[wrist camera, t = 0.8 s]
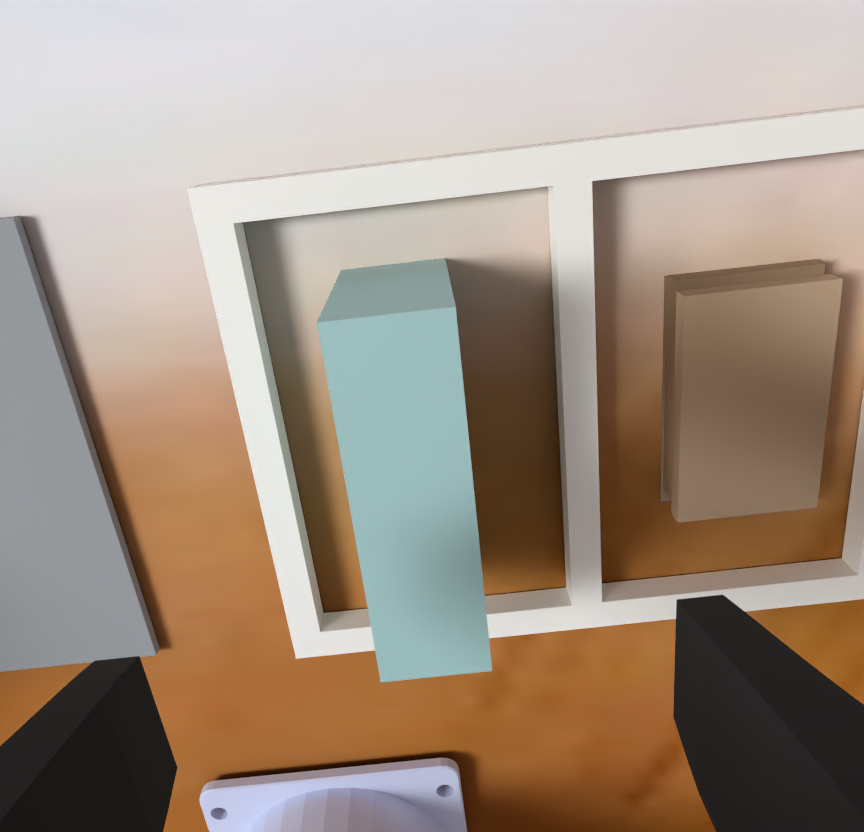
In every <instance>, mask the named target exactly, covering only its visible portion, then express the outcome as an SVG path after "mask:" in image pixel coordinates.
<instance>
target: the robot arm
mask: <svg viewBox="0 0 864 832" xmlns="http://www.w3.org/2000/svg"><path fill="white" fill-rule="evenodd" d="M674 720H675V723H676V726H677V729H678V732H679V735H680V738H681V741H682V744H683V748H684V751H685V754H686V757H687V760H688V763H689V766H690V768H691V771H692V774H693V777H694V780H695V783H696V786H697V789H698V792H699V794H700V797H701V799H702V801H703V803H704V805H705V808H706V810H707V812H708V814H709V817H710V819H711V821H712V823H713V825H714V827H715V830H716V832H864V705H863V704H862V703H860V702H859V701H858V700H856V699H855V698H854V697H852V696H851V695H850V694H848V693H847V692H846V691H844V690H843V689H842V688H840V687H839V686H838V685H836V684H835V683H834V682H833V681H831V680H830V679H829V678H827V677H826V676H825V675H823V674H822V673H821V672H820V671H818V670H817V669H816V668H814V667H813V666H812V665H811V664H809V663H808V662H807V661H805V660H804V659H803V658H802V657H800V656H799V655H798V654H797V653H795V652H794V651H793V650H792V649H790V648H789V647H788V646H787V645H785V644H784V643H783V642H781V641H780V640H779V639H778V638H777V637H775V636H774V635H773V634H772V633H770V632H769V631H768V630H767V629H765V628H764V627H763V626H762V625H760V624H759V623H758V622H757V621H755V620H754V619H753V618H752V617H751V616H749V615H748V614H747V613H746V612H744V611H743V610H742V609H741V608H739V607H738V606H737V605H736V604H734V603H733V602H732V601H731V600H729V599H728V598H727V597H725V596H724V595H715V596H705V597H696V598H686V599H677V603H676V642H675V681H674ZM176 770H177V766H176V763H175V760H174V757H173V754H172V751H171V748H170V745H169V742H168V739H167V736H166V733H165V730H164V727H163V725H162V722H161V719H160V716H159V713H158V710H157V707H156V704H155V701H154V698H153V695H152V692H151V689H150V686H149V683H148V680H147V677H146V675H145V672H144V669H143V666H142V663H141V660H140V657H139V656H135V657H125V658H116V659H106V660H97V661H94V662H93V663H92V664H90V665H89V666H88V667H87V668H86V669H84V670H83V671H82V672H81V673H80V674H78V675H77V676H76V677H75V678H74V679H73V680H72V681H71V682H69V683H68V684H67V685H66V686H65V687H64V688H63V689H62V690H61V691H60V692H58V693H57V694H56V695H55V696H54V697H53V698H52V699H51V700H50V701H49V702H48V703H47V704H45V705H44V706H43V707H42V708H41V709H40V710H39V711H38V712H37V713H36V714H35V715H34V716H33V717H31V718H30V719H29V720H28V721H27V722H26V723H25V724H24V725H23V726H22V727H21V728H20V729H19V730H17V731H16V732H15V733H14V734H13V735H12V736H11V737H10V738H9V739H8V740H7V741H6V742H4V743H3V744H2V745H1V746H0V832H163V829H164V825H165V821H166V816H167V812H168V808H169V803H170V799H171V794H172V789H173V784H174V780H175V775H176ZM441 785H447V786H441ZM200 805H201V808H202V811H203V814H204V817H205V820H206V823H207V826H208V829H209V832H467V826H466V818H465V811H464V803H463V795H462V788H461V780H460V773H459V767H458V765H457V763H456V762H455V761H454V760H452V759H449V758H432V759H422V760H412V761H402V762H392V763H383V764H373V765H363V766H353V767H343V768H333V769H323V770H314V771H304V772H294V773H284V774H274V775H264V776H255V777H245V778H235V779H225V780H215V781H211V782H208V783H207V784H206V785H204V787H203V789H202V792H201V795H200Z"/></svg>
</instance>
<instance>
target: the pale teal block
mask: <svg viewBox="0 0 864 832" xmlns="http://www.w3.org/2000/svg"><path fill="white" fill-rule="evenodd" d="M317 326H318V331H319V337H320V343H321V348H322V354H323V360H324V365H325V371H326V376H327V382H328V388H329V393H330V399H331V405H332V410H333V416H334V421H335V427H336V433H337V438H338V444H339V449H340V455H341V461H342V466H343V472H344V478H345V483H346V489H347V494H348V500H349V506H350V511H351V517H352V523H353V528H354V534H355V539H356V545H357V551H358V556H359V562H360V568H361V573H362V579H363V584H364V590H365V596H366V601H367V607H368V613H369V618H370V624H371V629H372V635H373V641H374V646H375V652H376V658H377V663H378V669H379V674H380V680H381V682H389V681H398V680H408V679H418V678H427V677H437V676H447V675H457V674H466V673H476V672H486V671H492V664H491V654H490V644H489V634H488V624H487V614H486V604H485V594H484V584H483V574H482V564H481V554H480V544H479V534H478V524H477V515H476V505H475V495H474V485H473V475H472V465H471V455H470V445H469V435H468V425H467V415H466V405H465V395H464V385H463V375H462V365H461V355H460V345H459V335H458V325H457V315H456V306H455V301H454V296H453V292H452V287H451V282H450V278H449V273H448V268H447V264H446V259H445V258H442V259H434V260H425V261H417V262H408V263H399V264H391V265H382V266H373V267H365V268H356V269H348V270H341V272H340V274H339V276H338V278H337V280H336V283H335V285H334V287H333V289H332V291H331V293H330V296H329V298H328V300H327V302H326V304H325V306H324V308H323V311H322V313H321V315H320V317H319V319H318V321H317Z"/></svg>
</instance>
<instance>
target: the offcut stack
mask: <svg viewBox="0 0 864 832" xmlns="http://www.w3.org/2000/svg"><path fill="white" fill-rule="evenodd" d="M824 273H825V263H822V262H820V259H814V260H804V261H795V262H786V263H777V264H768V265H759V266H750V267H741V268H732V269H723V270H714V271H705V272H696V273H686V274H677V275H668V276H665V278H664V331H663V384H662V437H661V489H660V501H661V502H664V501H671V513H672V515H673V516H674V518H675V519H676V521H677V522H678V523H680V522H689V521H699V520H708V519H717V518H727V517H736V516H745V515H755V514H764V513H774V512H783V511H792V510H802V509H811V508H817V505H818V497H819V488H820V479H821V470H822V461H823V453H824V444H825V435H826V426H827V417H828V409H829V400H830V391H831V382H832V373H833V365H834V356H835V347H836V338H837V329H838V321H839V312H840V303H841V294H842V285H843V278H840V277H838V276H835V275H832V274H826V275H824Z"/></svg>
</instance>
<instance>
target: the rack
mask: <svg viewBox="0 0 864 832" xmlns="http://www.w3.org/2000/svg"><path fill="white" fill-rule="evenodd" d="M861 149H864V106H857V107H849V108H841V109H832V110H824V111H815V112H807V113H799V114H790V115H782V116H773V117H765V118H757V119H748V120H740V121H731V122H723V123H715V124H706V125H698V126H689V127H681V128H673V129H664V130H656V131H647V132H639V133H631V134H622V135H614V136H605V137H597V138H589V139H580V140H572V141H563V142H555V143H547V144H538V145H530V146H521V147H513V148H505V149H496V150H488V151H479V152H471V153H463V154H454V155H446V156H437V157H429V158H421V159H412V160H404V161H395V162H387V163H379V164H370V165H362V166H353V167H345V168H337V169H328V170H320V171H311V172H303V173H295V174H286V175H278V176H269V177H261V178H253V179H244V180H236V181H227V182H219V183H211V184H202V185H196V186H193V187H190V188H187V191H188V196H189V200H190V204H191V209H192V213H193V217H194V222H195V226H196V230H197V234H198V239H199V243H200V247H201V252H202V256H203V260H204V264H205V269H206V273H207V277H208V282H209V286H210V290H211V295H212V299H213V303H214V307H215V312H216V316H217V320H218V325H219V329H220V333H221V338H222V342H223V346H224V350H225V355H226V359H227V363H228V368H229V372H230V376H231V381H232V385H233V389H234V393H235V398H236V402H237V406H238V411H239V415H240V419H241V424H242V428H243V432H244V436H245V441H246V445H247V449H248V454H249V458H250V462H251V467H252V471H253V475H254V479H255V484H256V488H257V492H258V497H259V501H260V505H261V510H262V514H263V518H264V522H265V527H266V531H267V535H268V540H269V544H270V548H271V553H272V557H273V561H274V565H275V570H276V574H277V578H278V583H279V587H280V591H281V596H282V600H283V604H284V608H285V613H286V617H287V621H288V626H289V630H290V634H291V639H292V643H293V647H294V651H295V656H296V659H297V658H306V657H316V656H325V655H335V654H344V653H354V652H363V651H373V650H375V646H374V641H373V635H372V629H371V624H370V618H369V613H368V608H367V609H358V610H348V611H339V612H330V613H323V608H322V603H321V599H320V594H319V589H318V584H317V579H316V574H315V570H314V565H313V560H312V555H311V550H310V546H309V541H308V536H307V531H306V526H305V521H304V517H303V512H302V507H301V502H300V497H299V493H298V488H297V483H296V478H295V473H294V468H293V464H292V459H291V454H290V449H289V444H288V440H287V435H286V430H285V425H284V420H283V415H282V411H281V406H280V401H279V396H278V391H277V387H276V382H275V377H274V372H273V367H272V362H271V358H270V353H269V348H268V343H267V338H266V334H265V329H264V324H263V319H262V314H261V309H260V305H259V300H258V295H257V290H256V285H255V281H254V276H253V271H252V266H251V261H250V256H249V252H248V247H247V242H246V237H245V232H244V228H243V223H242V222H249V221H258V220H266V219H275V218H283V217H292V216H300V215H309V214H317V213H326V212H334V211H343V210H351V209H360V208H368V207H377V206H385V205H394V204H402V203H411V202H419V201H428V200H436V199H445V198H453V197H462V196H470V195H479V194H487V193H496V192H504V191H513V190H521V189H530V188H538V187H547V186H548V205H549V227H550V248H551V270H552V291H553V313H554V334H555V355H556V377H557V398H558V420H559V441H560V463H561V484H562V506H563V527H564V548H565V570H566V587H565V588H556V589H546V590H537V591H528V592H518V593H509V594H499V595H490V596H485V604H486V614H487V624H488V634H489V638H497V637H506V636H516V635H525V634H535V633H544V632H554V631H564V630H573V629H583V628H592V627H602V626H611V625H621V624H630V623H640V622H649V621H659V620H668V619H676V603H677V599H686V598H696V597H705V596H715V595H724V596H725V597H727V598H728V599H729V600H731V601H732V602H733V603H734V604H736V605H737V606H738V607H739V608H741V609H742V610H743V611H744V612H745V611H754V610H764V609H773V608H783V607H792V606H802V605H811V604H821V603H830V602H840V601H850V600H859V599H864V390H863V398H862V406H861V413H860V421H859V429H858V437H857V444H856V452H855V460H854V468H853V475H852V483H851V491H850V498H849V506H848V514H847V522H846V529H845V537H844V545H843V552H842V558H838V559H829V560H820V561H810V562H801V563H791V564H782V565H773V566H763V567H754V568H744V569H735V570H725V571H716V572H707V573H697V574H688V575H678V576H669V577H659V578H650V579H641V580H631V581H622V582H612V583H603V584H602V579H601V537H600V495H599V452H598V410H597V368H596V326H595V284H594V242H593V199H592V181H597V180H606V179H614V178H623V177H631V176H640V175H648V174H657V173H665V172H674V171H682V170H691V169H699V168H708V167H716V166H725V165H733V164H742V163H750V162H759V161H767V160H776V159H784V158H793V157H801V156H810V155H818V154H827V153H835V152H844V151H852V150H861Z"/></svg>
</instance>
